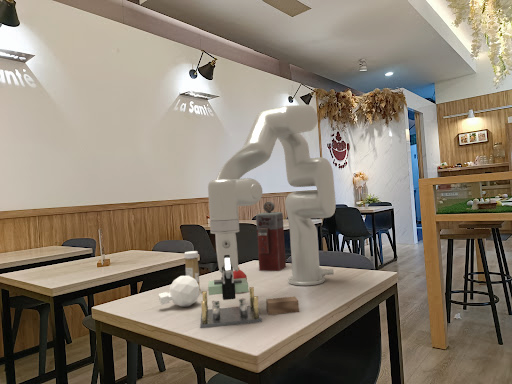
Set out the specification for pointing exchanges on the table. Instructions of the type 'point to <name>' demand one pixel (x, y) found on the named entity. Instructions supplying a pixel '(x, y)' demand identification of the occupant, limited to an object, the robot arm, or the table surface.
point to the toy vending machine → (270, 239)
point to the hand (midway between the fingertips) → (228, 294)
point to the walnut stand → (282, 305)
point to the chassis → (230, 312)
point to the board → (216, 286)
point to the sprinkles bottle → (192, 265)
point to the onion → (239, 274)
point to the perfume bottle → (181, 292)
